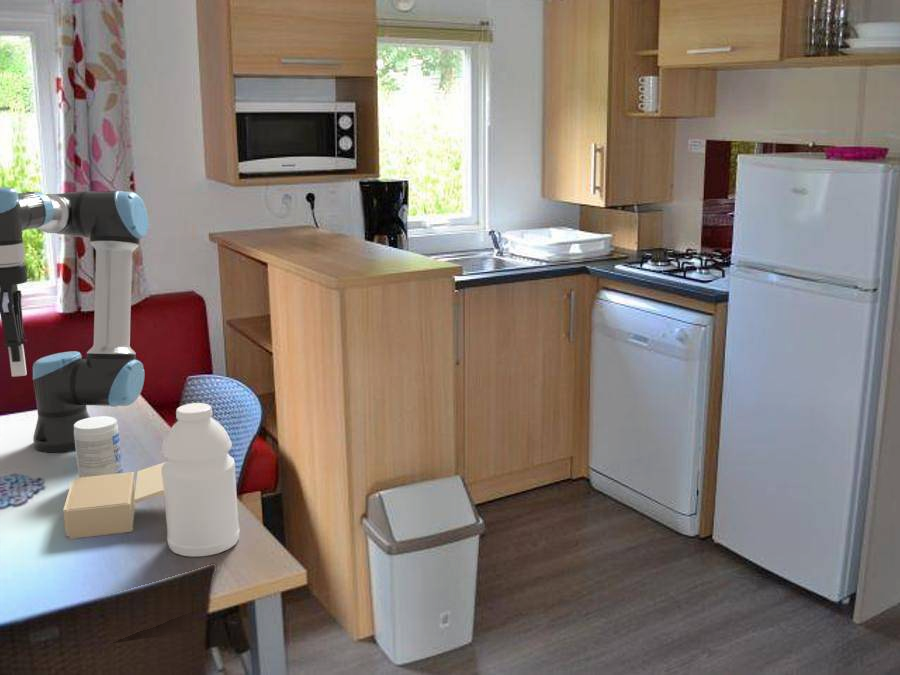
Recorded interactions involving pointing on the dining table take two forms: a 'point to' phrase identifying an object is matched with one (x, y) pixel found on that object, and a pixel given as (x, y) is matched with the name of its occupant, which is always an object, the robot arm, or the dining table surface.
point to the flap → (149, 483)
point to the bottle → (199, 484)
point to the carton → (100, 505)
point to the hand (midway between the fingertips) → (19, 375)
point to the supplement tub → (97, 446)
